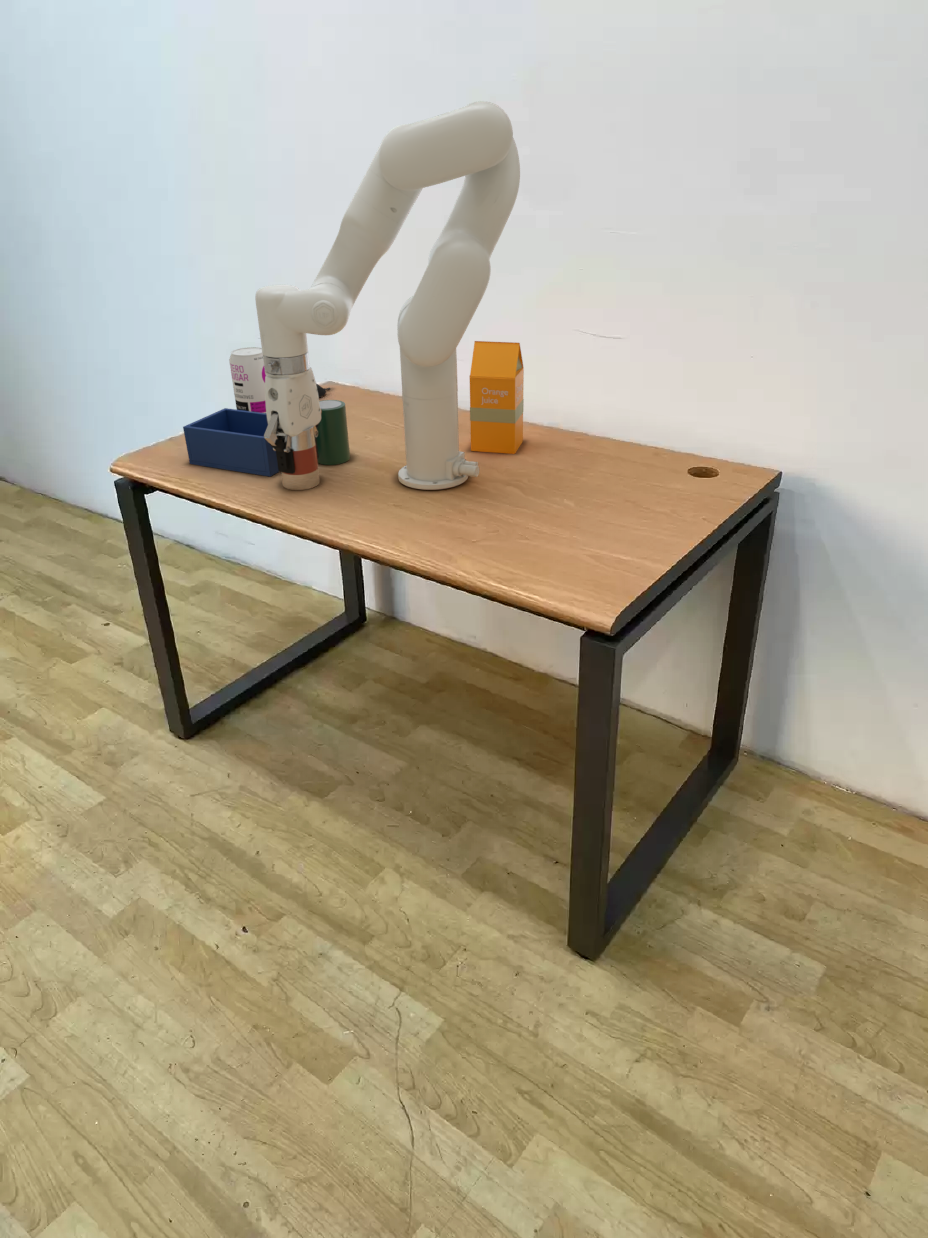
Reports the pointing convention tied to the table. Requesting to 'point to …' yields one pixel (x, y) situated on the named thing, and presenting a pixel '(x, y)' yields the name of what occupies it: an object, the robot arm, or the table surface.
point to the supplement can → (248, 379)
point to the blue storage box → (231, 442)
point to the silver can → (302, 462)
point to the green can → (333, 433)
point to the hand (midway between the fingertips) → (298, 464)
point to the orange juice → (496, 397)
